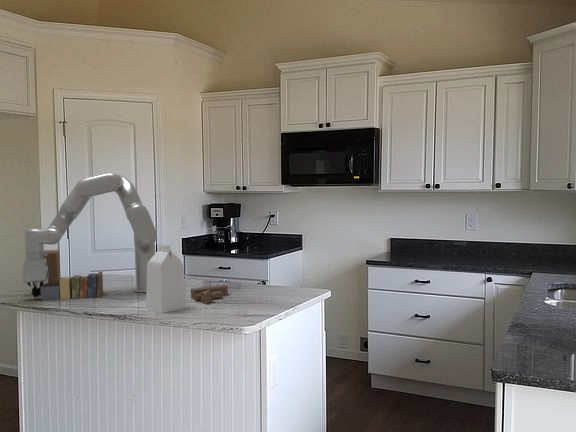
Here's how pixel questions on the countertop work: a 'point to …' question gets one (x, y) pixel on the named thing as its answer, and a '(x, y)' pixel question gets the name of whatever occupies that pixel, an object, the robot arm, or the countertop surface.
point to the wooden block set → (208, 293)
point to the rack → (85, 285)
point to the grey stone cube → (50, 292)
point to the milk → (165, 282)
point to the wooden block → (52, 266)
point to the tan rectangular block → (65, 287)
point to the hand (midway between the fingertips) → (36, 296)
